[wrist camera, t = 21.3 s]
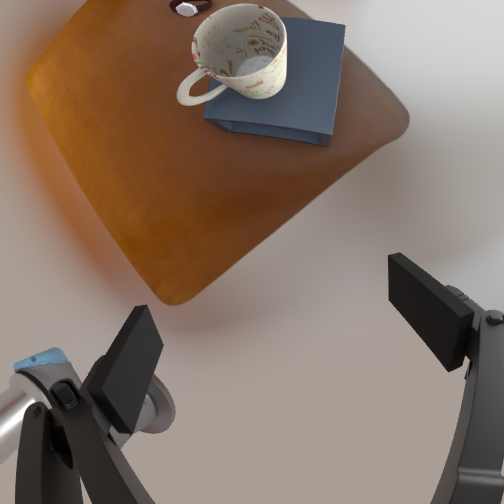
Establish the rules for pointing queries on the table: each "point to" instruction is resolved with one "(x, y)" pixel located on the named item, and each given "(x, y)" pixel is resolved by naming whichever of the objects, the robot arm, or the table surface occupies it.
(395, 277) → the robot arm
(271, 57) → the mug
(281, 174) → the table surface
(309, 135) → the shelf
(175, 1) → the watch
